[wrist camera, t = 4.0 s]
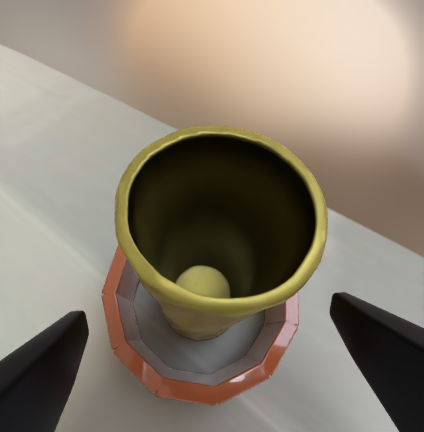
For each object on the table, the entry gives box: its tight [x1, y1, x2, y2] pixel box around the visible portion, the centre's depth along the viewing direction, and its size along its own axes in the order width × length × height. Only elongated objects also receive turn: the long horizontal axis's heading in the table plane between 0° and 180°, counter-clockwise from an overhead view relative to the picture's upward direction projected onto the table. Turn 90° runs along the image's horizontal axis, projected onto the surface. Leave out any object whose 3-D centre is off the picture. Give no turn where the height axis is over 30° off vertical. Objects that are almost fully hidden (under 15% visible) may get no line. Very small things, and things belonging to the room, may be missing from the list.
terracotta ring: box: [102, 245, 299, 406], centre depth 16 cm, size 12×12×4 cm
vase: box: [115, 126, 328, 340], centre depth 12 cm, size 6×6×14 cm
